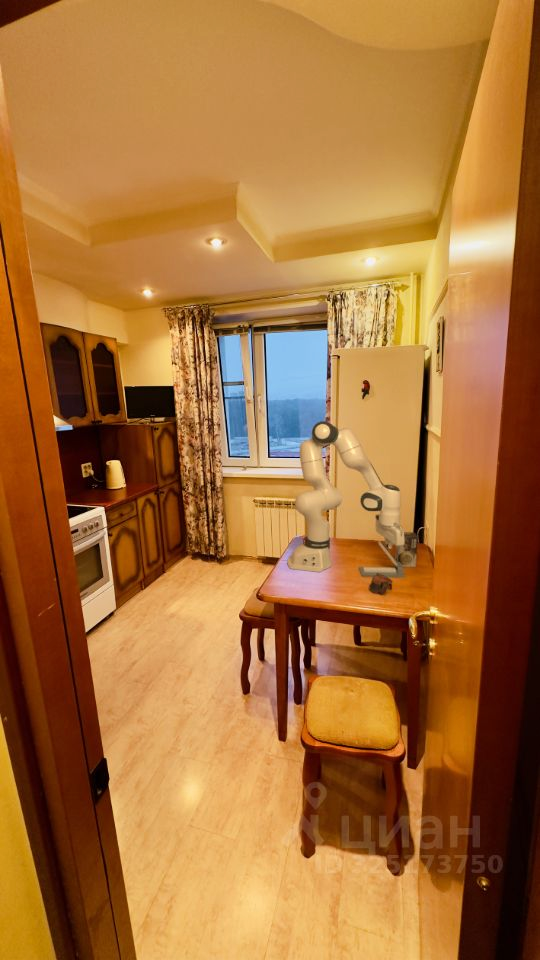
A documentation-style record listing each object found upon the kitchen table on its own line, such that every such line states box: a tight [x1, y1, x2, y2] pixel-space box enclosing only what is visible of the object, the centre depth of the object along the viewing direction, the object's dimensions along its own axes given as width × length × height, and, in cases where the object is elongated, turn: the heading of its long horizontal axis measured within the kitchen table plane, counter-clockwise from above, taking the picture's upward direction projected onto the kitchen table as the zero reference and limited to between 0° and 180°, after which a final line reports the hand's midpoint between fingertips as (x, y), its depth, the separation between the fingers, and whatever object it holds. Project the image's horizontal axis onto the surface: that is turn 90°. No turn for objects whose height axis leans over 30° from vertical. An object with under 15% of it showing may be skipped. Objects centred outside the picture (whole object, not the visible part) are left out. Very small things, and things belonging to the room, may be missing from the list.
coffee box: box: [394, 531, 419, 568], centre depth 181 cm, size 9×6×16 cm
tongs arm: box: [377, 540, 400, 567], centre depth 172 cm, size 16×3×2 cm
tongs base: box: [358, 562, 406, 579], centre depth 174 cm, size 20×8×4 cm, turn 86°
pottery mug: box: [368, 573, 393, 595], centre depth 158 cm, size 12×10×8 cm
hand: (388, 547), depth 171 cm, fingers closed
